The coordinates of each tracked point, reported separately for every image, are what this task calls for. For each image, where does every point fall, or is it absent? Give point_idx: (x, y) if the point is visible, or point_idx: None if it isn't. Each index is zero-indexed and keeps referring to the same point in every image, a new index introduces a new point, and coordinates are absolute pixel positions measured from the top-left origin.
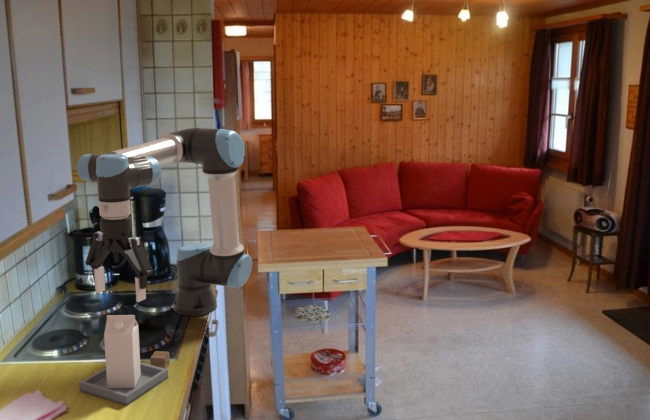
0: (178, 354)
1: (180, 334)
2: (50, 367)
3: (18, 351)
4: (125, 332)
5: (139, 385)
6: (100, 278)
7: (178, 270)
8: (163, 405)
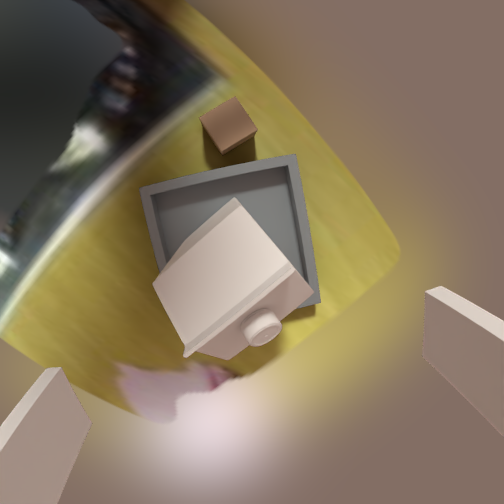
0: (208, 59)
1: (128, 3)
2: (46, 299)
3: None
4: (289, 308)
5: (304, 254)
6: (39, 466)
7: None
8: (372, 246)
